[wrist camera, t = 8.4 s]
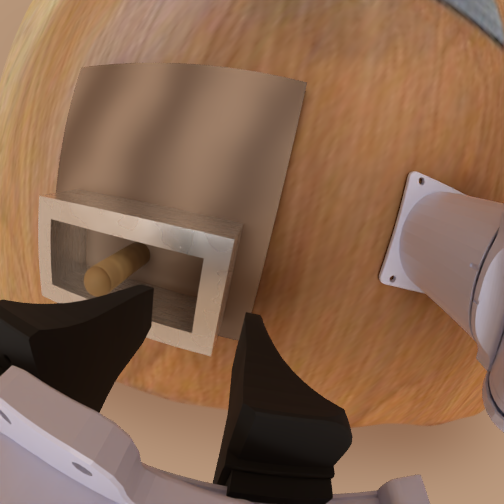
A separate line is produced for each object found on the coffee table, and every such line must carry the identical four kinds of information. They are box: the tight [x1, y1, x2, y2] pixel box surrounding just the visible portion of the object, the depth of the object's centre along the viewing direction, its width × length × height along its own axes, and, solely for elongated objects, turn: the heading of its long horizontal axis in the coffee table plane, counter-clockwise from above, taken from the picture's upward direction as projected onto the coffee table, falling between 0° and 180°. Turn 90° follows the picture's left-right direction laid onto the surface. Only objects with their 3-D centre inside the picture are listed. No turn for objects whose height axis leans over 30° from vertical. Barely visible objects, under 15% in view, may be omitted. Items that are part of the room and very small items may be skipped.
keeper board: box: [56, 63, 307, 341], centre depth 14 cm, size 16×17×7 cm
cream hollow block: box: [38, 189, 243, 356], centre depth 15 cm, size 12×7×4 cm, turn 77°
